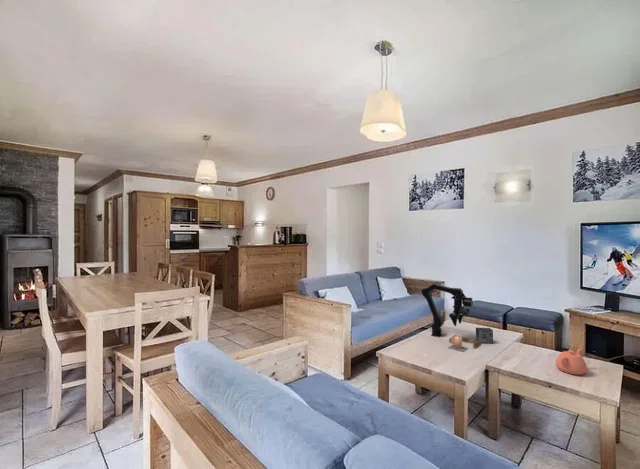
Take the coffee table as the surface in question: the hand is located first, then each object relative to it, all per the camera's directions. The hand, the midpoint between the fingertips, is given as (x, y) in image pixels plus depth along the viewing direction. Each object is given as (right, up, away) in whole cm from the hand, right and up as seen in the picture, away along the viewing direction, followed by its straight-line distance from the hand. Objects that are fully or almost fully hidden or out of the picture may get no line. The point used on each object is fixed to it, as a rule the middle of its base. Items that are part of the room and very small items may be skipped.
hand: (457, 324), depth 249 cm
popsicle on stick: (-8, -12, -16) cm, 22 cm away
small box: (+18, -12, -5) cm, 23 cm away
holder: (+2, -12, -8) cm, 14 cm away
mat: (-7, -12, -17) cm, 22 cm away
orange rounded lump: (+47, -13, -53) cm, 72 cm away
